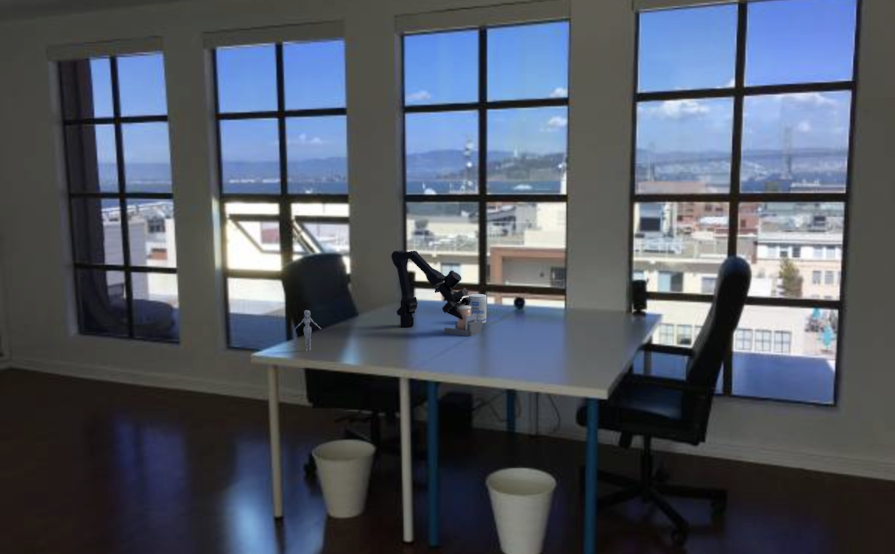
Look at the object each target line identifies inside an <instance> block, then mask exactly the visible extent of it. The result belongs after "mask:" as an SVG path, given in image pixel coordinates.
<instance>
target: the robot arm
mask: <svg viewBox="0 0 895 554" xmlns="http://www.w3.org/2000/svg"><path fill="white" fill-rule="evenodd" d="M390 258H391V260H392V264H393V265H394V266H395V268H396V270H397V271H396V272H397V274H398V275H397V276H398V281H399V286H400V291H401V292H400V293H401V299H400V307H399V308H398V309H397V311H396V315H397V316H399V325H398V326H399V327H400V328H412V327H414V324H415V323H414V321H415V317H413V314H415V313H416V310H417V309H418V299H417V298H418V297H416V296H414V295H413V293H412V289H411V284H410V279H409V273H408V267H407V266H408V262H409V260H410V261H411V262H412V263H413V264H414V265H416V267H417V268H419V269H420V271H421V272H422V273H423V274H424V275H425V277H426V280H427V282H428V283H429V285H431V286H436V287H434V289H435V290H434V293H435V294H436V293H440V294H441V296H442V297H443V301H444V302H446V303H445V304H444V305H443V306H442V307H441V309H442V312H443V313H444V314H447V315H450V316H453V317H455V318H457V319H458V318H459V319H461V320H463V317H462V315H461V313H460V312H459V310H458V306H461V305H468V306H469V303H470V301H471V299H470V297H469V290H468V289H467V288H466V287H462V288H461V289H460V290H458V291H456V290H453V288H455V287H456V286H457V285H458V284H459V283H460V282H461V281H462V275H461V274H459V272H456V271H454V270H449V272H448V273H447V275H444V274H443V273H442V272H440V271H439V270H438V269H435V268H434V267H432V266H431V265H430V264H429V263H428V262H427V261H426V260H425V259H424V258H423V257H422V256H421V255H420V253H419V252H418V251H417V250H410V251H406V250H405V249H401V250H394V251H393V252H392V253H391V257H390ZM471 314H472V313H471Z"/></svg>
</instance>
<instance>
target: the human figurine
mask: <svg viewBox="0 0 895 554" xmlns="http://www.w3.org/2000/svg"><path fill="white" fill-rule="evenodd" d="M302 323H304V325H305V326H304V327H303V335H304V338H305V339H304V342H305V352H310V350H311V349H312V348H311V345H312V343H311V342H312V339H311V337H312V326H310V324H311V323H313V324H314V325H315V326H317V327H318V328H319V329H320V330H322V328H321V327H320V326H319V325H318V324H317V323H316V322H314V320H313V319H312V318H311V311H310V310H308V309H306V310H303V319H302V320H301V322H300V323H298V324H297V326H296V327H295V328H294V330H293V331H295V330H297V328H298V327H300V325H302ZM308 345H309V346H308ZM308 347H309V349H308ZM311 351H312V350H311Z"/></svg>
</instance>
